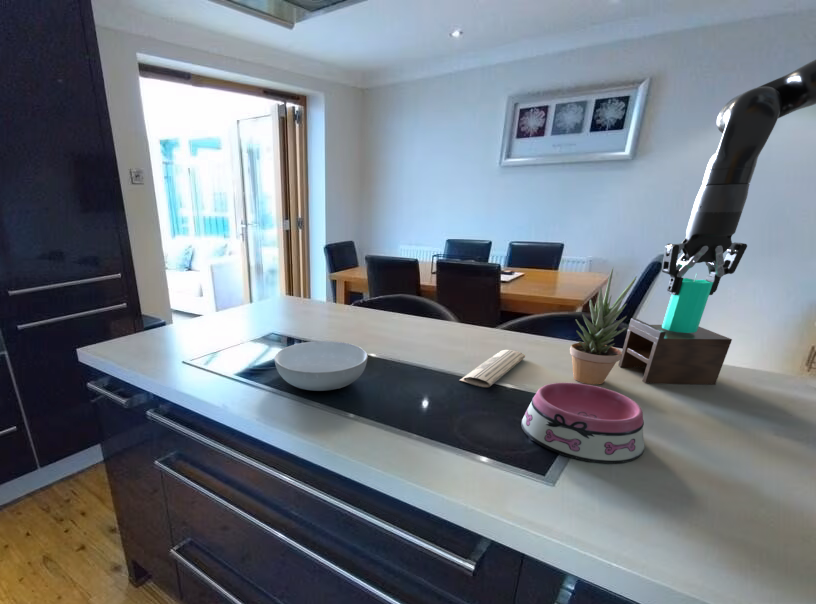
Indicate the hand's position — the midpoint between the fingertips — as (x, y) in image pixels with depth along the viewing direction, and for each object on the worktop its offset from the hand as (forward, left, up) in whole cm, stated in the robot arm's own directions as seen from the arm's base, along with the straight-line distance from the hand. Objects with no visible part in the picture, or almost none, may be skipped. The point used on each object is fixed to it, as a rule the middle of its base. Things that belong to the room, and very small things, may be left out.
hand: (690, 294), depth 93 cm
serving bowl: (+78, +8, -19) cm, 81 cm away
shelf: (0, 0, -18) cm, 18 cm away
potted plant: (+18, +3, -19) cm, 26 cm away
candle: (0, 0, -8) cm, 8 cm away
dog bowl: (+31, +29, -19) cm, 47 cm away
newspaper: (+37, -2, -19) cm, 41 cm away
